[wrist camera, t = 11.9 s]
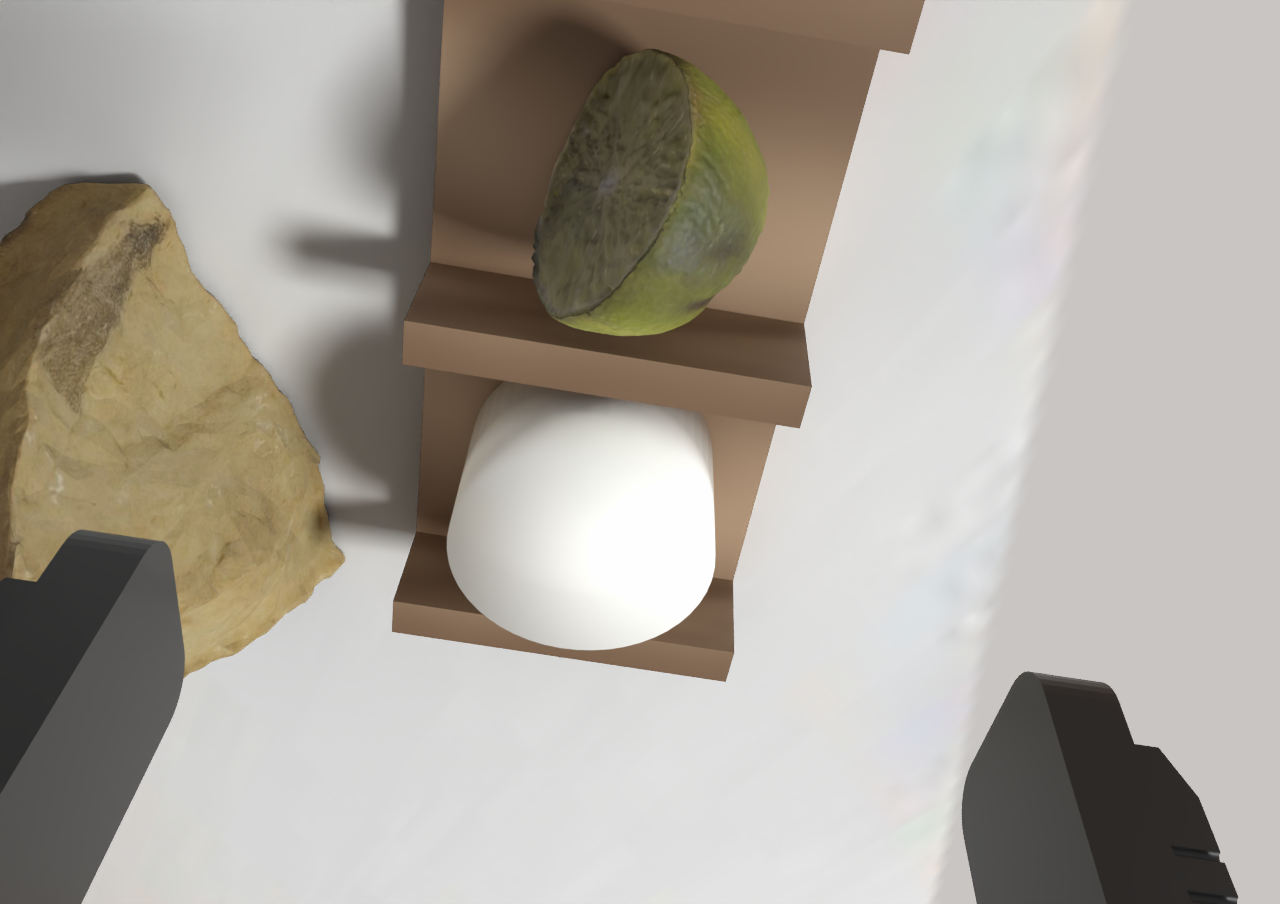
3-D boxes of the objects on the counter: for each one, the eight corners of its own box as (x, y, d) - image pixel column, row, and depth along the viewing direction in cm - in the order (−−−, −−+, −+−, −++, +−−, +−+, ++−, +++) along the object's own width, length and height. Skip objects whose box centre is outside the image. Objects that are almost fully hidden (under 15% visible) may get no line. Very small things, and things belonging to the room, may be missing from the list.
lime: (547, 264, 24) (512, 394, 20) (523, 26, 21) (477, 120, 17) (762, 260, 24) (771, 392, 19) (766, 18, 21) (779, 112, 17)
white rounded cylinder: (432, 390, 26) (400, 490, 23) (669, 325, 24) (666, 422, 22) (526, 565, 29) (509, 671, 26) (741, 515, 28) (746, 621, 25)
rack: (461, -139, 20) (419, -102, 18) (899, -60, 21) (927, -10, 18) (423, 536, 30) (391, 631, 27) (724, 582, 30) (725, 682, 27)
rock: (-149, 119, 21) (-174, 535, 26) (-63, 359, 16) (-112, 826, 21) (371, 189, 29) (282, 505, 33) (544, 372, 24) (411, 717, 28)
